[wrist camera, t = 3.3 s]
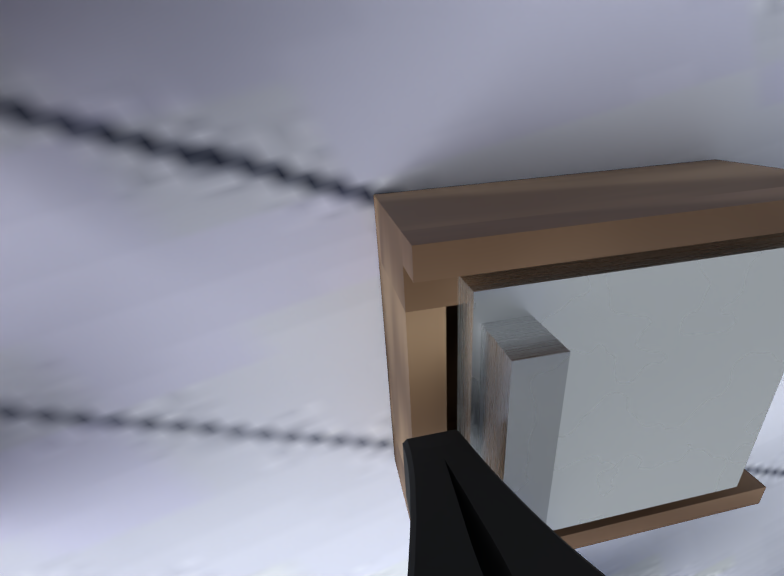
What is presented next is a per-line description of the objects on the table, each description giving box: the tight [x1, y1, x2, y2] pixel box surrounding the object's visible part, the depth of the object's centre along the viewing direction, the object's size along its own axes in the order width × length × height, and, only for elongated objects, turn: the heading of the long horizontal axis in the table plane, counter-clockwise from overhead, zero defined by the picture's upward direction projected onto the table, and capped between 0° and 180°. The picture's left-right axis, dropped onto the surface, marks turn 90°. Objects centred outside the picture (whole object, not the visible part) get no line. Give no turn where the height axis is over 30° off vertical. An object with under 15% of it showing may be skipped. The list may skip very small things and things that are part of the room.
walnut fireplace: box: [374, 160, 784, 549], centre depth 13 cm, size 11×12×5 cm
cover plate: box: [457, 232, 784, 530], centre depth 11 cm, size 9×9×2 cm
